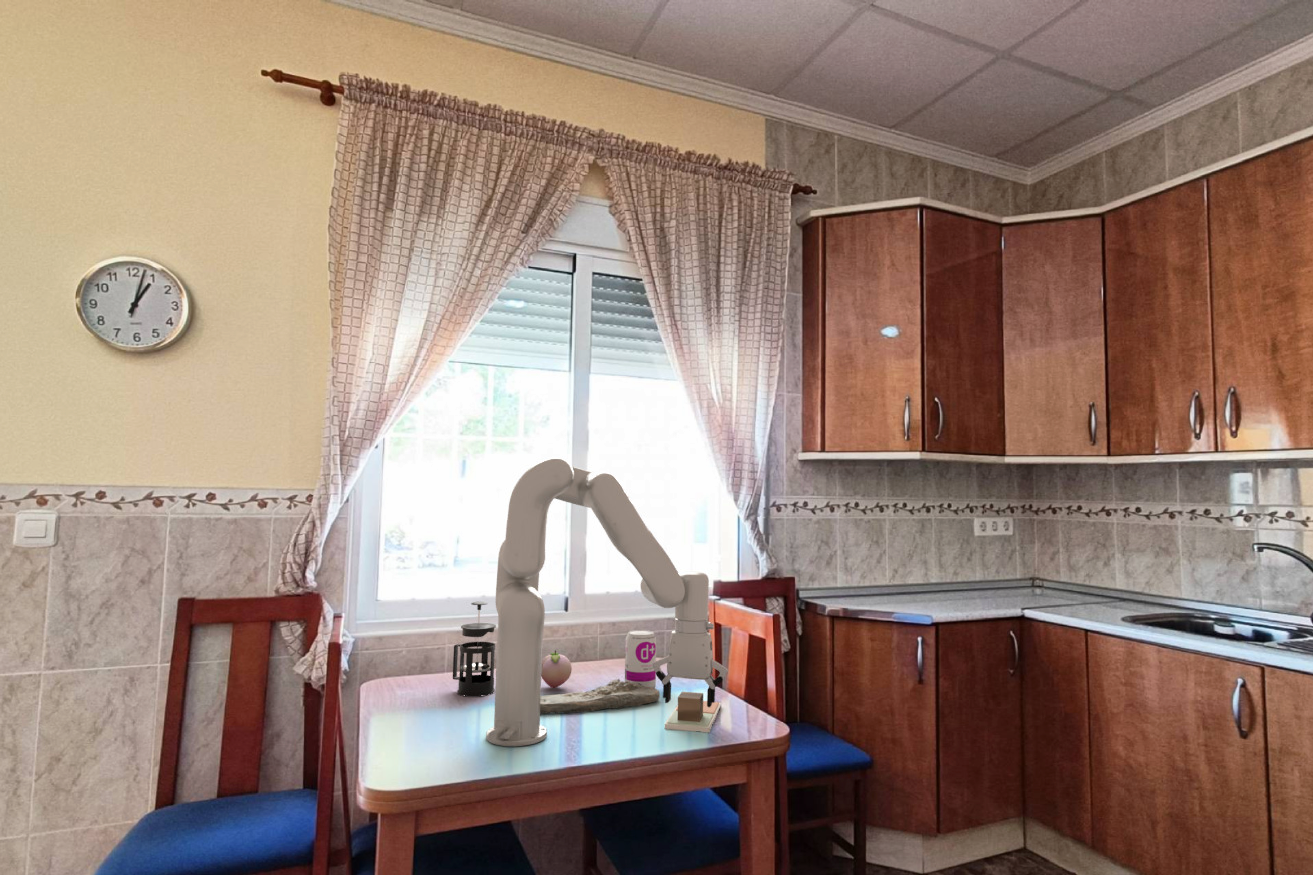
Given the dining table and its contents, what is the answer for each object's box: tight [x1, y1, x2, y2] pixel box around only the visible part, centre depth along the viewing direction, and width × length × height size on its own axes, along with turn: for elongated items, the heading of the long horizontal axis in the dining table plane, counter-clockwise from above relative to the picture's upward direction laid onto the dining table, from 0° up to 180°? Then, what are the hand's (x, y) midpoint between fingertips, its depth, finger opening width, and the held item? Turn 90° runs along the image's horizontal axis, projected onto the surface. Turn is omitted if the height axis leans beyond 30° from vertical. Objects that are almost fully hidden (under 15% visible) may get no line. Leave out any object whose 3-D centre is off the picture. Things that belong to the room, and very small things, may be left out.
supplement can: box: [624, 629, 657, 689], centre depth 190 cm, size 8×8×15 cm
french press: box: [452, 601, 497, 697], centre depth 186 cm, size 12×9×23 cm
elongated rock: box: [540, 678, 660, 715], centre depth 174 cm, size 35×5×10 cm
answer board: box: [664, 700, 722, 733], centre depth 166 cm, size 20×10×1 cm, turn 167°
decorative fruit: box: [541, 650, 573, 690], centre depth 190 cm, size 9×8×10 cm
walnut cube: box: [677, 691, 704, 722], centre depth 162 cm, size 5×5×5 cm
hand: (688, 703), depth 161 cm, fingers open, 9 cm apart
